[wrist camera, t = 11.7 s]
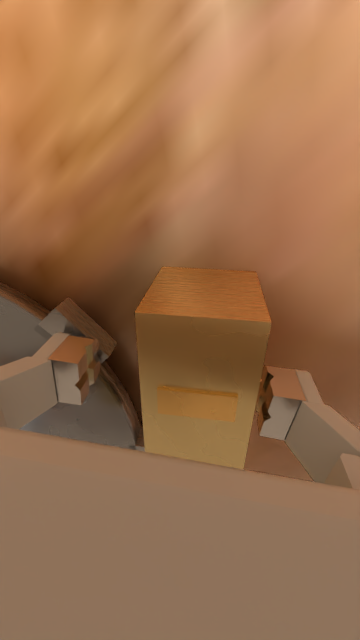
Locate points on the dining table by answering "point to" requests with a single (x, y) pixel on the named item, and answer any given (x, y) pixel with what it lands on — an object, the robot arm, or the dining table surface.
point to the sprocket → (104, 395)
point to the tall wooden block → (201, 362)
